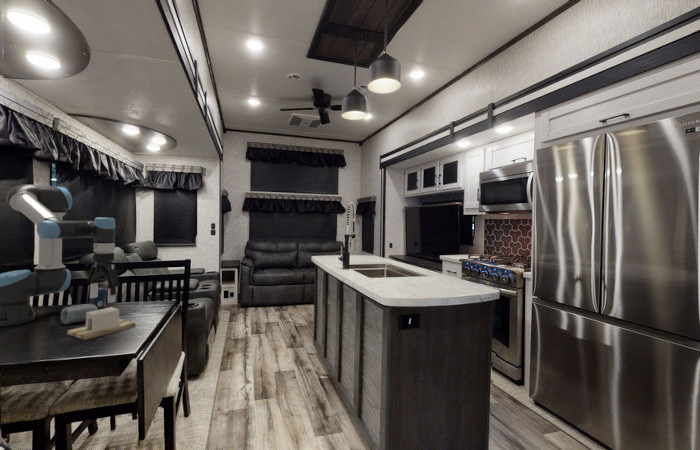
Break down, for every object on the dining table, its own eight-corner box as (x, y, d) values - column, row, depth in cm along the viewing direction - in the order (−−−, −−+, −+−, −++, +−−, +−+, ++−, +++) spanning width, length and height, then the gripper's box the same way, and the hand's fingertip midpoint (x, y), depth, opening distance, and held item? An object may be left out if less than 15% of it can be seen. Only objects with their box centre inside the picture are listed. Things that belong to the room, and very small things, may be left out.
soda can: (86, 311, 173) (87, 288, 173) (102, 308, 179) (102, 286, 179) (91, 313, 169) (92, 290, 169) (107, 310, 175) (108, 288, 175)
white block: (85, 328, 143) (86, 312, 142) (110, 322, 152) (111, 307, 151) (93, 331, 140) (94, 314, 140) (118, 324, 149) (119, 309, 149)
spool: (57, 321, 146) (65, 299, 151) (56, 325, 152) (64, 304, 157) (94, 323, 154) (101, 302, 159) (92, 328, 160) (99, 307, 165)
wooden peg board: (66, 333, 140) (67, 321, 140) (117, 321, 158) (117, 310, 158) (85, 339, 134) (85, 326, 134) (135, 326, 152) (135, 314, 152)
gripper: (78, 250, 147) (77, 297, 148) (111, 255, 137) (109, 306, 137) (97, 249, 154) (96, 294, 155) (130, 254, 143) (128, 302, 144)
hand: (102, 300), depth 146 cm, fingers open, 13 cm apart
